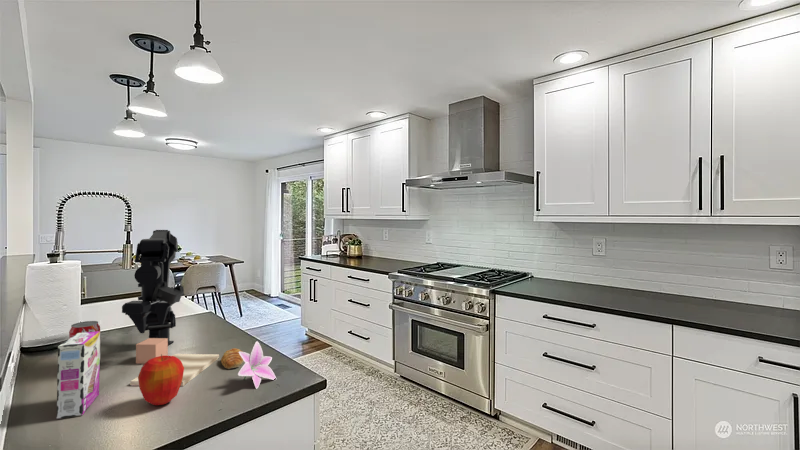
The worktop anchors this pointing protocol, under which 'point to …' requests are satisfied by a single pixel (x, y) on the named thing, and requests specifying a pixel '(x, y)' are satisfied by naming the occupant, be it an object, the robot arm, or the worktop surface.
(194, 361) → the birch board
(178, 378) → the apple
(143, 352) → the terracotta cube
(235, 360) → the pastry
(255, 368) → the lily
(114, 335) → the worktop surface
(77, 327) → the soda can
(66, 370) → the candy bar box
